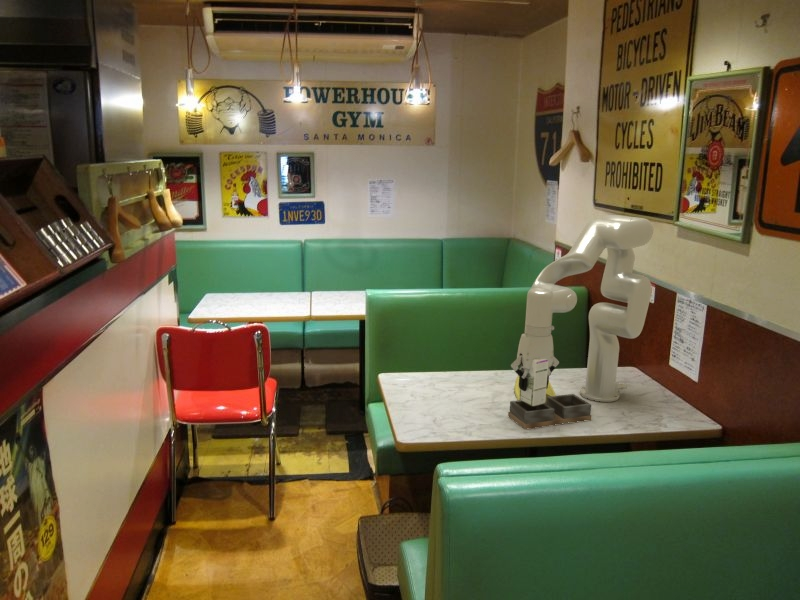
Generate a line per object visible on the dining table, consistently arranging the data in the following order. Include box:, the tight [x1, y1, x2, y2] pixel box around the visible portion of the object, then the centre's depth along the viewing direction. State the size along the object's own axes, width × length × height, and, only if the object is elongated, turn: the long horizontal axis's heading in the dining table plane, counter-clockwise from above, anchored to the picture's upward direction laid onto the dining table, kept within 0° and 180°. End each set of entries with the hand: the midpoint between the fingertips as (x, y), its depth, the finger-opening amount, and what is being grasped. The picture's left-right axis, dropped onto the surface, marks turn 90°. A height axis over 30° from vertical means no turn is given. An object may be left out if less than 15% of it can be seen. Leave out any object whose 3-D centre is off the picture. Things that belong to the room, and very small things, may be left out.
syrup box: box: [519, 358, 548, 406], centre depth 203 cm, size 6×6×14 cm
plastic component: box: [514, 374, 557, 404], centre depth 228 cm, size 20×7×10 cm
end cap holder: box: [507, 393, 592, 430], centre depth 207 cm, size 23×10×5 cm, turn 110°
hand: (533, 387), depth 203 cm, fingers closed on syrup box, 6 cm apart
